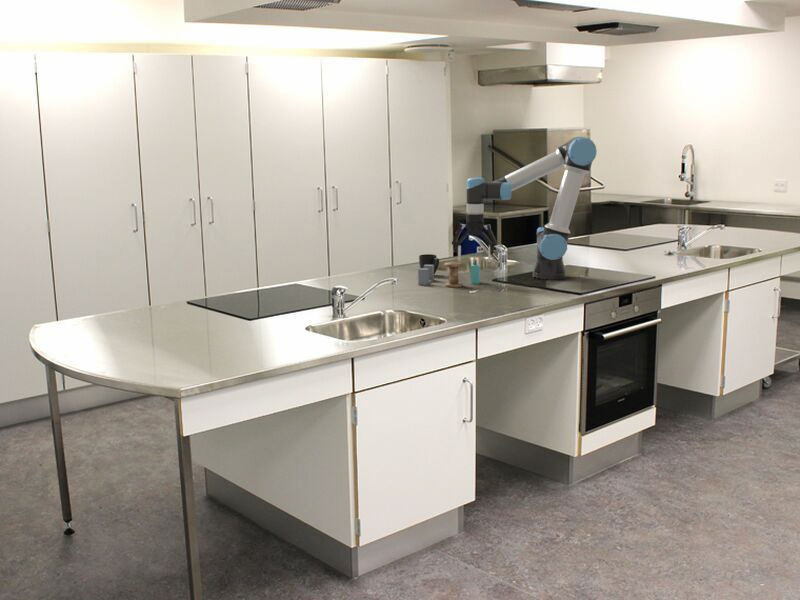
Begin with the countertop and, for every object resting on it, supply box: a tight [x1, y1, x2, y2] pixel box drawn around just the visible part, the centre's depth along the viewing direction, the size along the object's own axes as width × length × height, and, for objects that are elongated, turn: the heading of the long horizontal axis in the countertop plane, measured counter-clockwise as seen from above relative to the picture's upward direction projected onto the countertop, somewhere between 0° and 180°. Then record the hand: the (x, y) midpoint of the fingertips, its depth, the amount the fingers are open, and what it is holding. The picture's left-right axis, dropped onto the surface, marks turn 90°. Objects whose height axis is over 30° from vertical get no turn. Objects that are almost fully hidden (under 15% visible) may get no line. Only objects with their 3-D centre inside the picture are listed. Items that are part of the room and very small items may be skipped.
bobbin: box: [444, 261, 464, 288], centre depth 384 cm, size 8×8×10 cm
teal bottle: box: [470, 259, 481, 285], centre depth 390 cm, size 4×4×10 cm
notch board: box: [417, 265, 435, 286], centre depth 394 cm, size 4×14×7 cm, turn 165°
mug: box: [418, 253, 440, 275], centre depth 411 cm, size 8×12×10 cm
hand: (474, 261), depth 389 cm, fingers open, 13 cm apart
